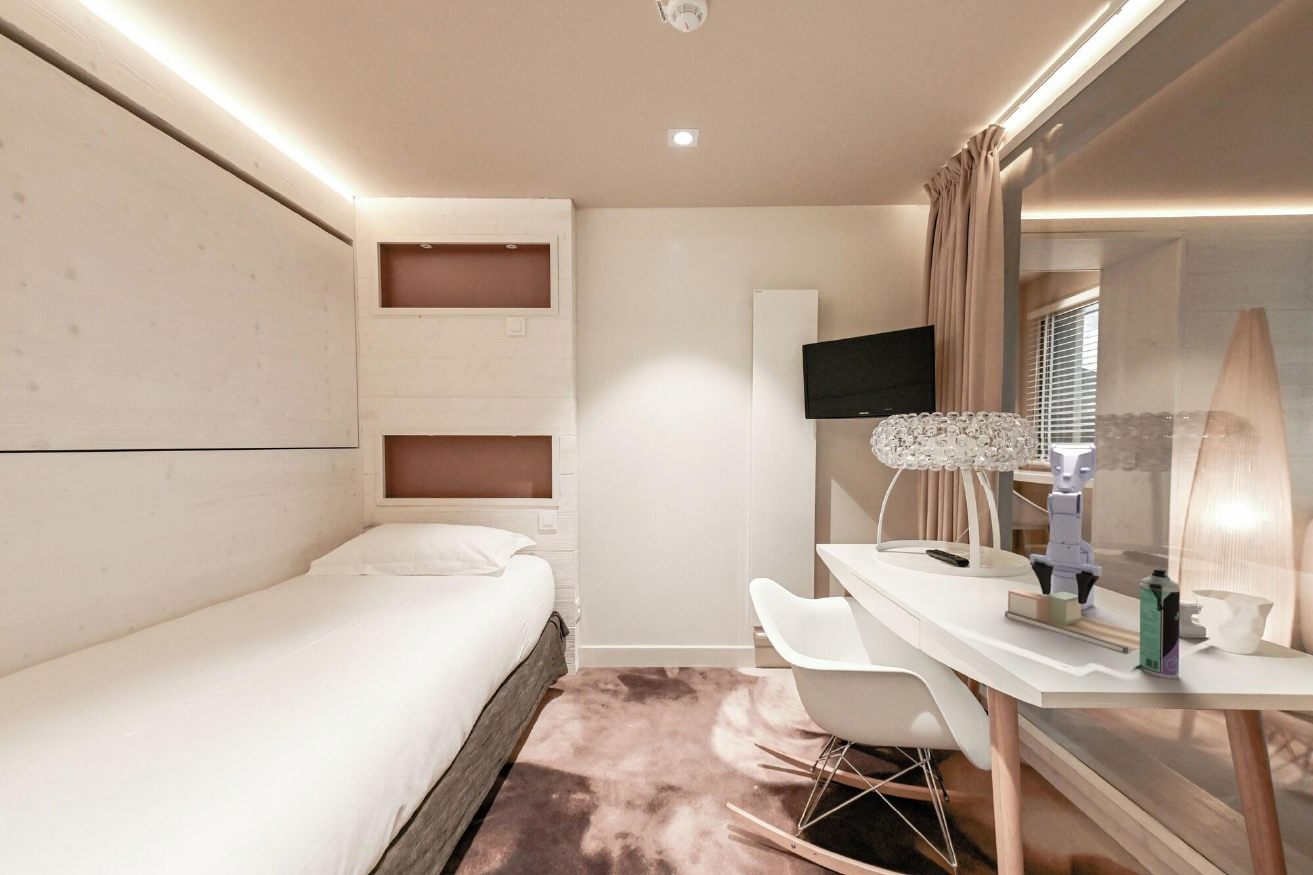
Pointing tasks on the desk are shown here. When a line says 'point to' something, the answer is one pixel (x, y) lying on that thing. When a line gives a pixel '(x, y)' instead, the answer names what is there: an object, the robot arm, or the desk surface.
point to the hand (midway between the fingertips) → (1063, 598)
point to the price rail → (1068, 632)
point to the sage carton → (1064, 608)
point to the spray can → (1159, 625)
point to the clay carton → (1029, 604)
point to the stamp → (1190, 621)
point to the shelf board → (1105, 632)
